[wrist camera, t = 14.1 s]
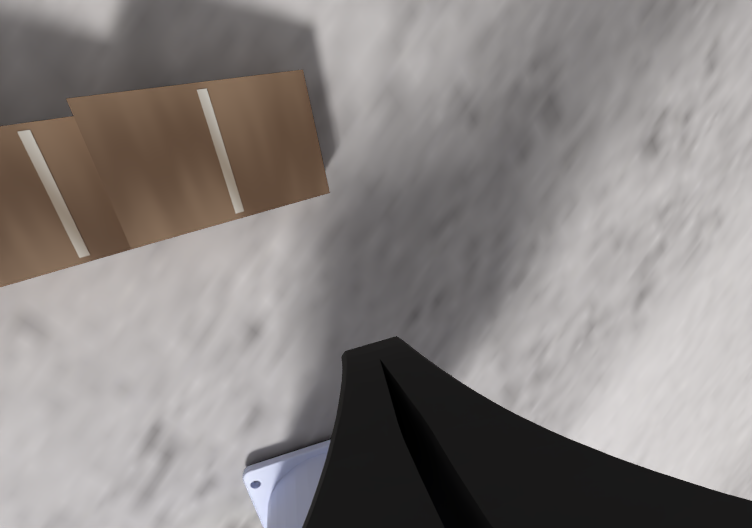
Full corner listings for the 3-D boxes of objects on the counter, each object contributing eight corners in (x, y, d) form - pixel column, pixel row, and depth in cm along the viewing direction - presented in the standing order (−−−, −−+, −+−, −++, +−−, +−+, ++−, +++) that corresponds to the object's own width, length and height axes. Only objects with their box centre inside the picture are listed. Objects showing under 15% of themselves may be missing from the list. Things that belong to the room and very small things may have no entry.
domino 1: (196, 230, 15) (-53, 302, 11) (189, 224, 16) (-35, 287, 13) (151, 105, 13) (-155, 148, 10) (147, 110, 14) (-123, 148, 11)
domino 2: (330, 192, 15) (131, 249, 12) (313, 189, 17) (130, 239, 13) (303, 69, 14) (65, 98, 11) (287, 77, 15) (73, 104, 12)
